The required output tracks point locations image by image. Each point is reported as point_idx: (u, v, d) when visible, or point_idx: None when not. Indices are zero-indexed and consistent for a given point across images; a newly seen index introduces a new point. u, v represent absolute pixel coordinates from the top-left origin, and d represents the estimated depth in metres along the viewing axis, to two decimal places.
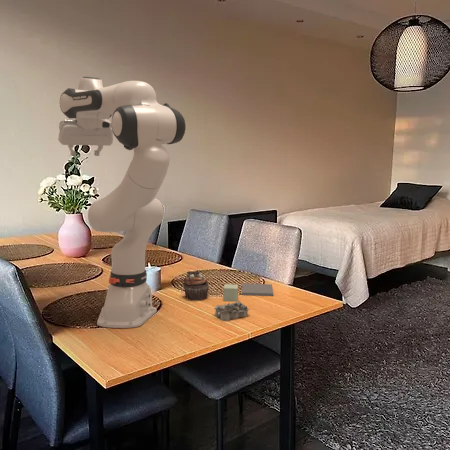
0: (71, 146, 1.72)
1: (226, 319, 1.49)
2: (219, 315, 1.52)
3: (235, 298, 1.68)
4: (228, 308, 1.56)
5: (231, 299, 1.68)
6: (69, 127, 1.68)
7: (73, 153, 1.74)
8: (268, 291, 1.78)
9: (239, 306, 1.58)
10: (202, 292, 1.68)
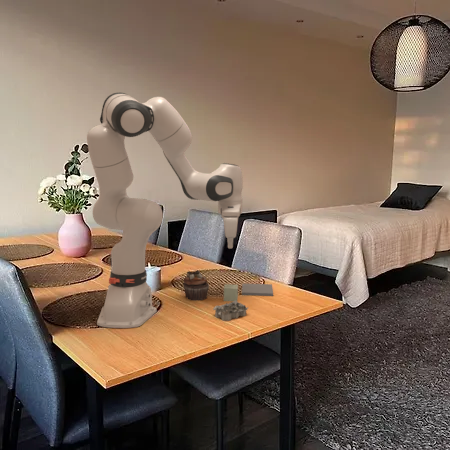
0: None
1: (228, 319, 1.49)
2: (219, 315, 1.52)
3: (235, 298, 1.68)
4: (226, 308, 1.57)
5: (231, 299, 1.68)
6: None
7: (227, 239, 1.74)
8: (268, 291, 1.78)
9: (236, 305, 1.59)
10: (202, 292, 1.68)
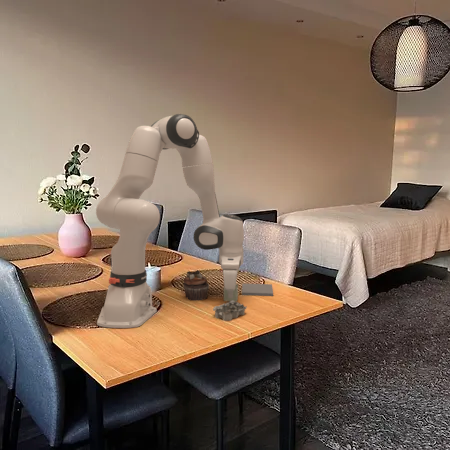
0: None
1: (229, 319, 1.49)
2: (219, 316, 1.52)
3: (235, 298, 1.68)
4: (224, 308, 1.56)
5: (231, 299, 1.68)
6: None
7: None
8: (268, 291, 1.78)
9: (233, 305, 1.59)
10: (202, 292, 1.68)
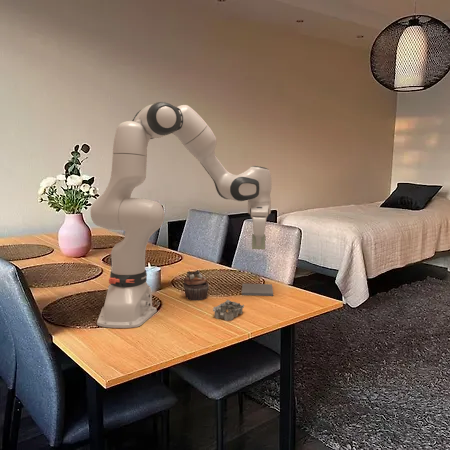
0: None
1: (231, 319, 1.50)
2: (220, 316, 1.51)
3: (263, 246, 1.75)
4: (221, 308, 1.56)
5: (259, 247, 1.76)
6: None
7: None
8: (268, 291, 1.78)
9: (229, 304, 1.59)
10: (202, 292, 1.68)
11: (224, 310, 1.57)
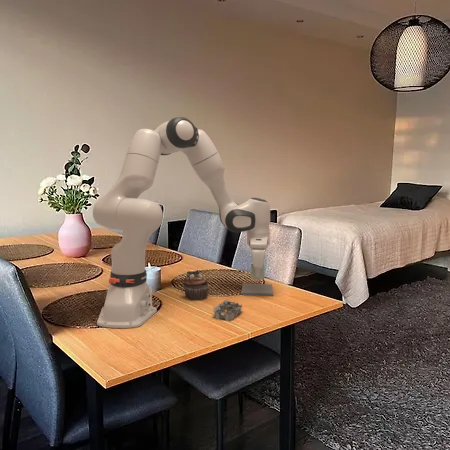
0: None
1: (231, 318, 1.50)
2: (220, 316, 1.51)
3: (262, 276, 1.78)
4: (220, 308, 1.56)
5: (258, 277, 1.78)
6: None
7: None
8: (268, 291, 1.78)
9: (227, 304, 1.59)
10: (202, 292, 1.68)
11: (223, 310, 1.57)
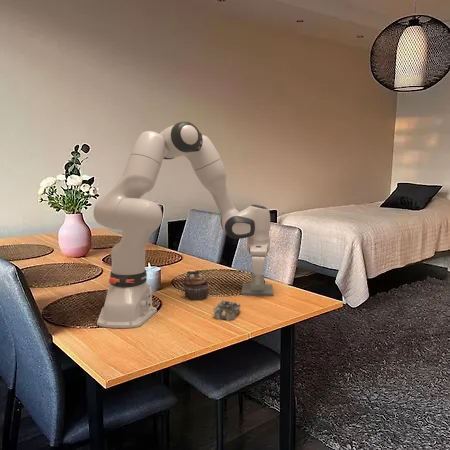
0: None
1: (232, 318, 1.50)
2: (221, 317, 1.51)
3: (262, 287, 1.78)
4: (219, 308, 1.56)
5: (258, 288, 1.78)
6: None
7: None
8: (268, 291, 1.78)
9: (224, 304, 1.59)
10: (202, 292, 1.68)
11: (221, 310, 1.56)
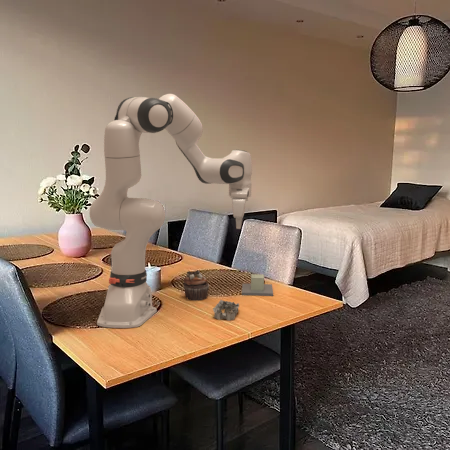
0: None
1: (233, 318, 1.50)
2: (221, 317, 1.51)
3: (262, 287, 1.78)
4: (218, 309, 1.56)
5: (258, 288, 1.78)
6: None
7: None
8: (268, 291, 1.78)
9: (223, 304, 1.59)
10: (202, 292, 1.68)
11: (220, 310, 1.56)
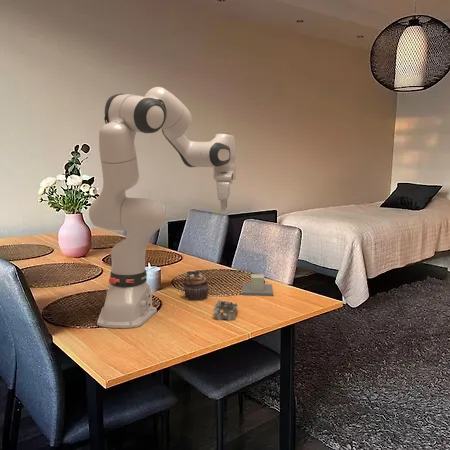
0: None
1: (233, 318, 1.51)
2: (222, 317, 1.51)
3: (262, 287, 1.78)
4: None
5: (258, 288, 1.78)
6: None
7: None
8: (268, 291, 1.78)
9: (220, 304, 1.59)
10: (202, 292, 1.68)
11: (219, 311, 1.56)
